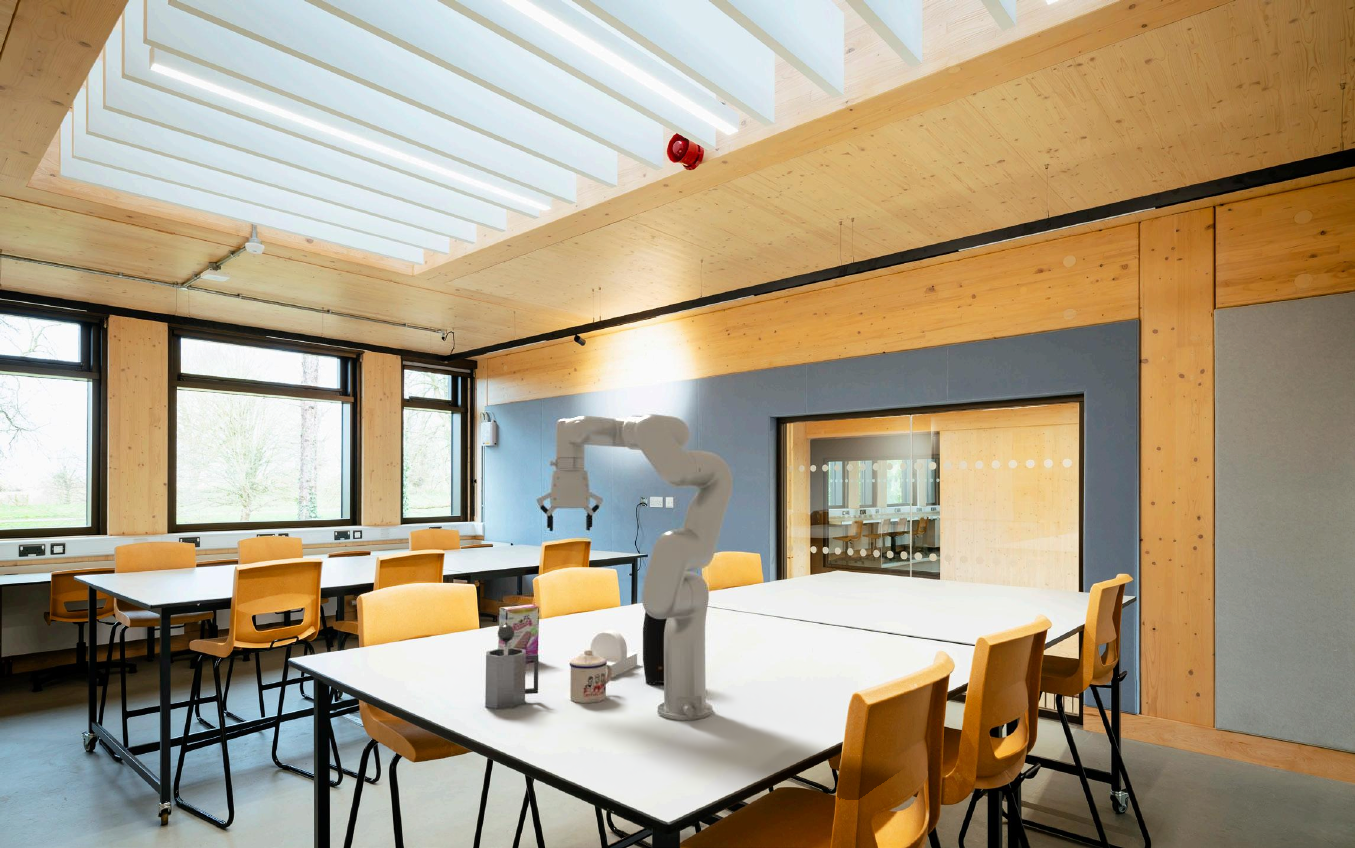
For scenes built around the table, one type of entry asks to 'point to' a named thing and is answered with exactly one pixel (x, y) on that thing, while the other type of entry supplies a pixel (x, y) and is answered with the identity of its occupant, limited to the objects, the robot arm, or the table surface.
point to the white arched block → (613, 651)
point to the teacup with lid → (589, 678)
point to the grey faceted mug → (508, 678)
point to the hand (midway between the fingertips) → (569, 530)
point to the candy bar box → (521, 627)
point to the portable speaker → (653, 649)
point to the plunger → (506, 636)
